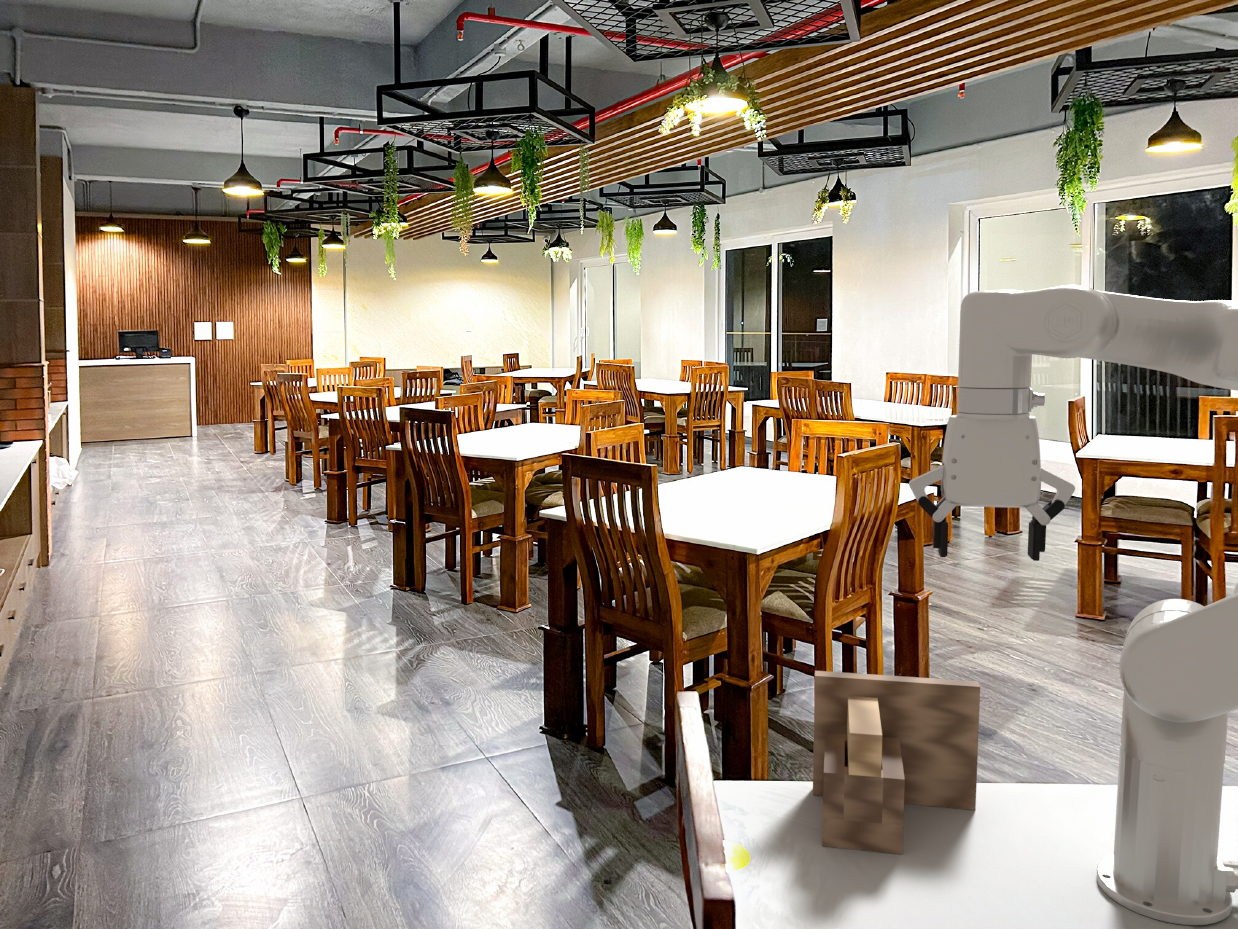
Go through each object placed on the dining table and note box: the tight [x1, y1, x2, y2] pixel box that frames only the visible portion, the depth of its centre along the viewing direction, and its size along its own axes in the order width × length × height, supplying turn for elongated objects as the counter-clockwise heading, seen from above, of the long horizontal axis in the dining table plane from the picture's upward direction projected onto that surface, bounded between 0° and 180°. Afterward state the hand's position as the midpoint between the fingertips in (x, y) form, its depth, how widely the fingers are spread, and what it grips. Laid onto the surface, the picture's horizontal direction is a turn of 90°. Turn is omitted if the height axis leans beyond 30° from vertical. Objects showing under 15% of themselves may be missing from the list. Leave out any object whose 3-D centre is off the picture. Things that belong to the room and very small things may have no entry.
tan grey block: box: [847, 696, 882, 777], centre depth 118 cm, size 4×12×10 cm, turn 168°
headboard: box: [812, 670, 981, 855], centre depth 119 cm, size 20×15×16 cm
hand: (987, 556), depth 110 cm, fingers open, 9 cm apart
